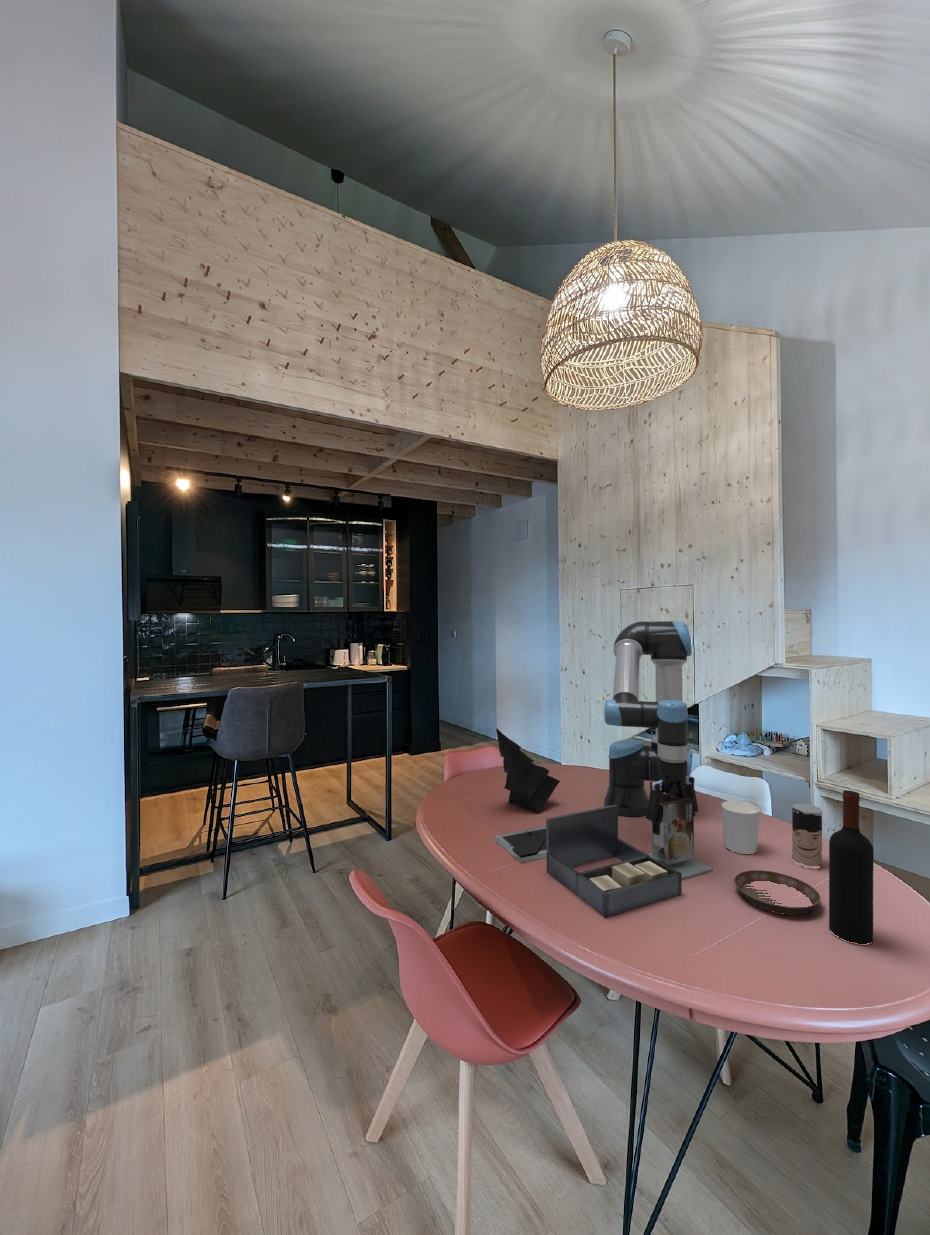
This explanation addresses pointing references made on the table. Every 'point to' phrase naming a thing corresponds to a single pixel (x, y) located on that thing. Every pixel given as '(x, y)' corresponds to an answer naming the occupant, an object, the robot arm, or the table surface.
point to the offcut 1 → (605, 883)
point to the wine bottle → (851, 877)
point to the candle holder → (740, 826)
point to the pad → (688, 867)
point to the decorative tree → (524, 777)
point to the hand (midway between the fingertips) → (672, 842)
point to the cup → (807, 834)
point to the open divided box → (597, 840)
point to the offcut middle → (627, 875)
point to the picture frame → (525, 844)
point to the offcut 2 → (651, 870)
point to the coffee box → (676, 831)
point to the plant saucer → (764, 903)
